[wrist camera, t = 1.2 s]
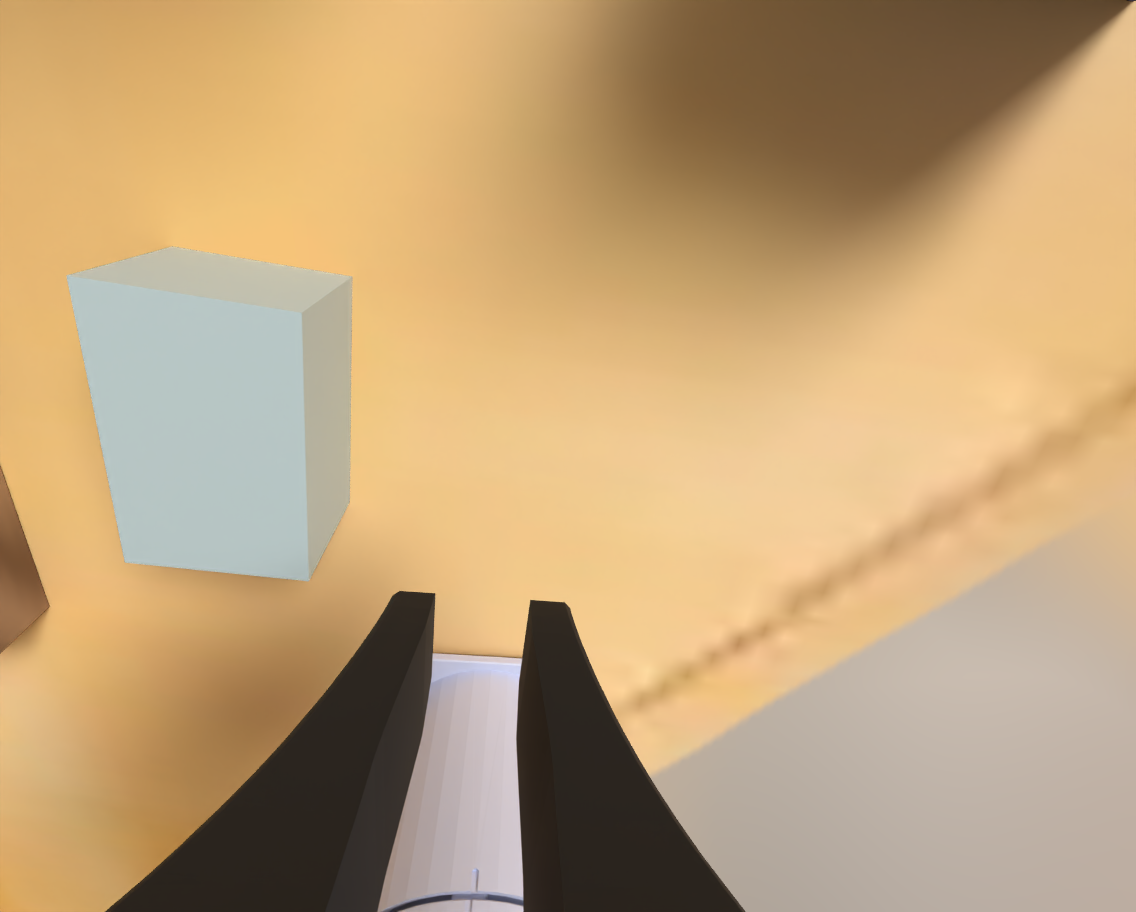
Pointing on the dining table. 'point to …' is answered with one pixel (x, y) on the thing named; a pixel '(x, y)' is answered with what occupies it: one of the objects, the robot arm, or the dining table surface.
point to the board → (16, 575)
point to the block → (220, 407)
